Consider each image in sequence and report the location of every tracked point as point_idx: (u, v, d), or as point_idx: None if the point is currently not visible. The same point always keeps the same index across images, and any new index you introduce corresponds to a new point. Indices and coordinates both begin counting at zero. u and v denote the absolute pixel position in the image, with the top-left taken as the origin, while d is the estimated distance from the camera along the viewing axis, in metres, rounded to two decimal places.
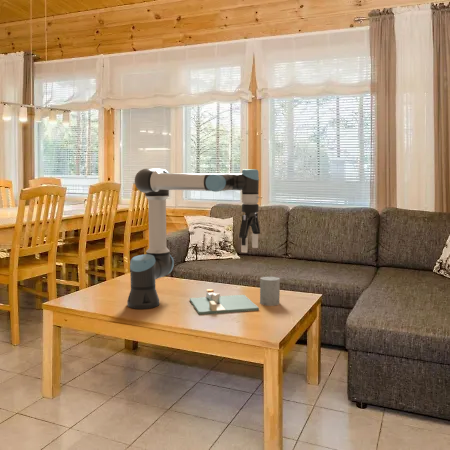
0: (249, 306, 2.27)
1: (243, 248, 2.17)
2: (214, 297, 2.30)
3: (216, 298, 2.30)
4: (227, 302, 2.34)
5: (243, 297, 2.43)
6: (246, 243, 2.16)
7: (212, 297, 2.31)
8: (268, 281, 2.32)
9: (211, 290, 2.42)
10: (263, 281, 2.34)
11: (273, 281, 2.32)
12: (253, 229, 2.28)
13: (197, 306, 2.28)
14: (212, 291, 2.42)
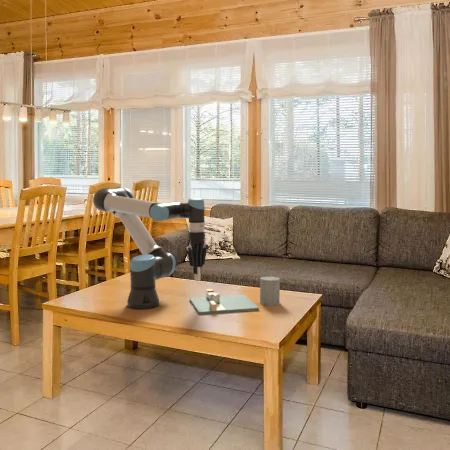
0: (249, 306, 2.27)
1: (195, 276, 2.33)
2: (214, 297, 2.30)
3: (216, 298, 2.30)
4: (227, 302, 2.34)
5: (243, 297, 2.43)
6: (197, 272, 2.32)
7: (212, 297, 2.31)
8: (268, 281, 2.32)
9: (211, 290, 2.42)
10: (263, 281, 2.34)
11: (273, 281, 2.32)
12: None
13: (197, 306, 2.28)
14: (212, 291, 2.42)
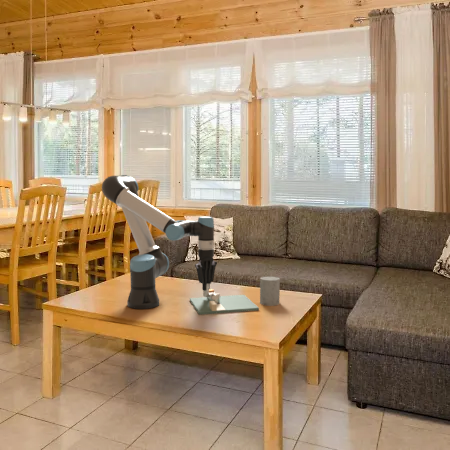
0: (249, 306, 2.27)
1: (204, 293, 2.39)
2: (214, 297, 2.30)
3: (215, 298, 2.30)
4: (227, 302, 2.34)
5: (243, 297, 2.43)
6: (206, 288, 2.37)
7: (212, 297, 2.31)
8: (268, 281, 2.32)
9: (211, 290, 2.42)
10: (263, 281, 2.34)
11: (273, 281, 2.32)
12: None
13: (197, 306, 2.28)
14: (212, 291, 2.42)
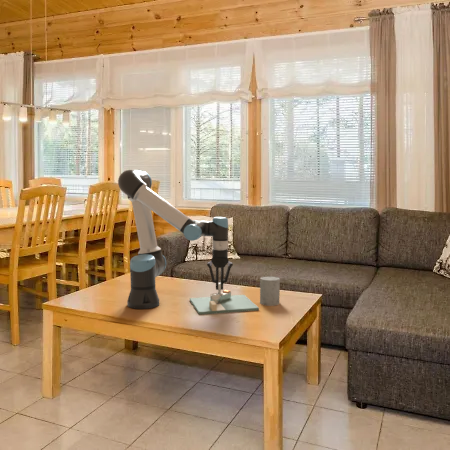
0: (249, 306, 2.27)
1: (218, 292, 2.41)
2: (211, 296, 2.31)
3: (212, 298, 2.31)
4: (227, 302, 2.34)
5: (243, 297, 2.43)
6: (218, 288, 2.40)
7: (210, 296, 2.32)
8: (268, 281, 2.32)
9: (226, 291, 2.40)
10: (263, 281, 2.34)
11: (273, 281, 2.32)
12: None
13: (197, 306, 2.28)
14: (226, 292, 2.40)
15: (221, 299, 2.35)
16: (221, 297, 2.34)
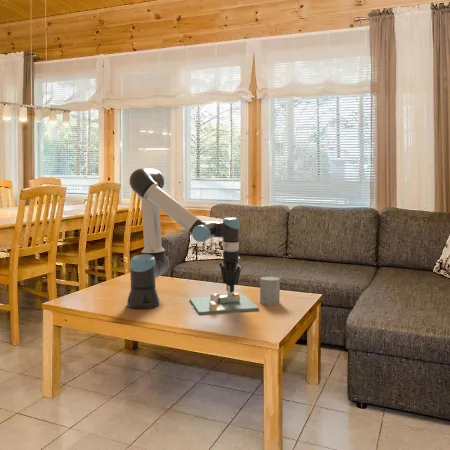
0: (249, 306, 2.27)
1: None
2: (210, 296, 2.32)
3: (210, 297, 2.32)
4: None
5: (243, 297, 2.43)
6: (227, 290, 2.37)
7: None
8: (268, 281, 2.32)
9: (234, 294, 2.35)
10: (263, 281, 2.34)
11: (273, 281, 2.32)
12: None
13: (197, 306, 2.28)
14: (234, 295, 2.34)
15: (222, 300, 2.32)
16: (222, 298, 2.32)
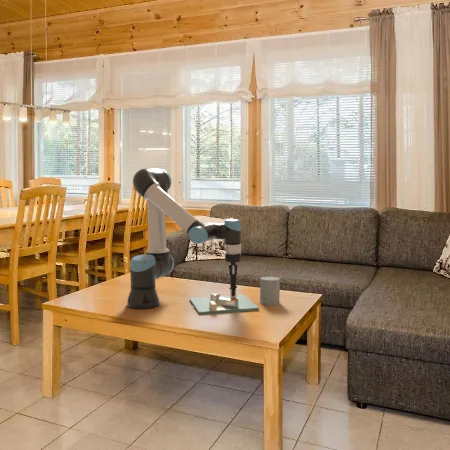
0: (249, 306, 2.27)
1: None
2: None
3: None
4: None
5: (243, 297, 2.43)
6: None
7: None
8: (268, 281, 2.32)
9: (231, 298, 2.27)
10: (263, 281, 2.34)
11: (273, 281, 2.32)
12: None
13: (197, 306, 2.28)
14: None
15: (218, 302, 2.30)
16: (218, 300, 2.29)
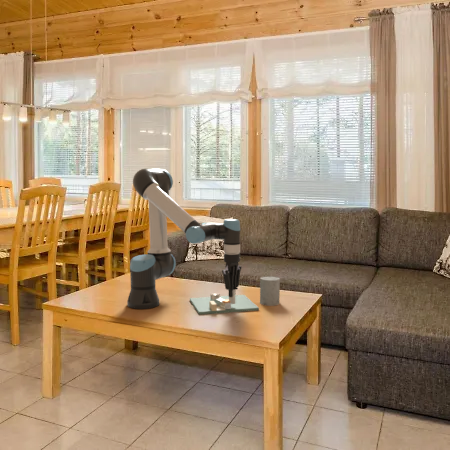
0: (249, 306, 2.27)
1: None
2: None
3: None
4: None
5: (243, 297, 2.43)
6: None
7: None
8: (268, 281, 2.32)
9: (224, 300, 2.24)
10: (263, 281, 2.34)
11: (273, 281, 2.32)
12: None
13: (197, 306, 2.28)
14: None
15: (215, 302, 2.29)
16: (215, 300, 2.29)
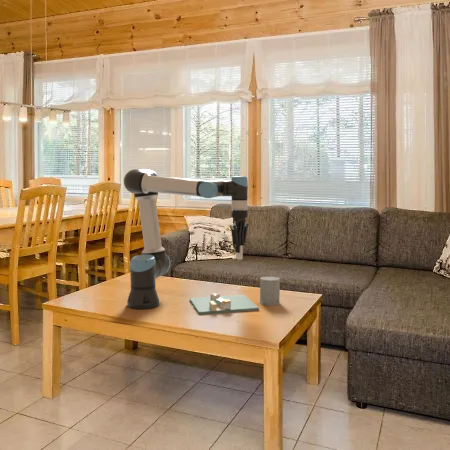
0: (249, 306, 2.27)
1: None
2: None
3: None
4: None
5: (243, 297, 2.43)
6: None
7: None
8: (268, 281, 2.32)
9: (224, 300, 2.24)
10: (263, 281, 2.34)
11: (273, 281, 2.32)
12: None
13: (197, 306, 2.28)
14: None
15: (215, 302, 2.29)
16: (215, 300, 2.29)
